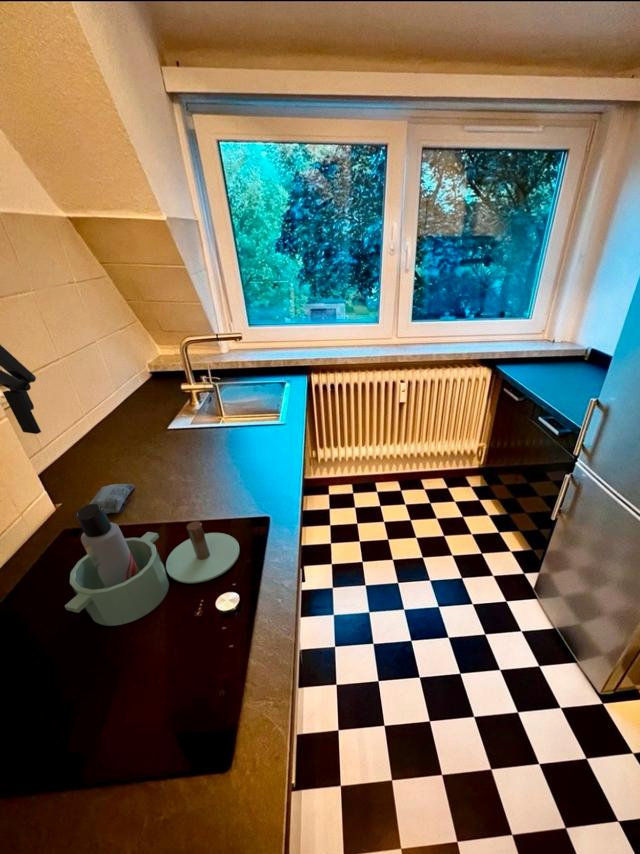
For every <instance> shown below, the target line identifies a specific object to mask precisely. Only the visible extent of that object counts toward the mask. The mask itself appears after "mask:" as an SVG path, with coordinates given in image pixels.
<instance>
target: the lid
mask: <svg viewBox="0 0 640 854" xmlns="http://www.w3.org/2000/svg"><path fill="white" fill-rule="evenodd" d="M186 531H187V533H188V537H189V538H188V539H186V540H184V541H183V542H182V543H180V544H179V545H177V546H176V547H175V548H174V549H173V550H172V551H171V552H170V554H169V555H168V557H167V559H166V562H165V571H166V573H167V575H169V577H170V578H171V579H172V580H173V581H176V582H178V583H179V582H180V583H182V584H199V583H205V582H208V581H211V580H213V579H216V578H218V577H220V576H222V575H224V574H225V573H226V572H227V571H229V570H230V569H231V568H232V567H233V566H234V565H235V564H236V562H237V561H238V559H239V556H240V551H241V549H240V545H239V542H238V540H237V539H236V538H235V537H233V536H231V535H229V534H226V533H222V532H208V533H207V532H206V533H205V531H204V528H203V524H202V523H201V522H200V521H199V520H198V521H197V520H196V521H192V522H191V521H190V523H188V524H187V525H186Z"/></svg>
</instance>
